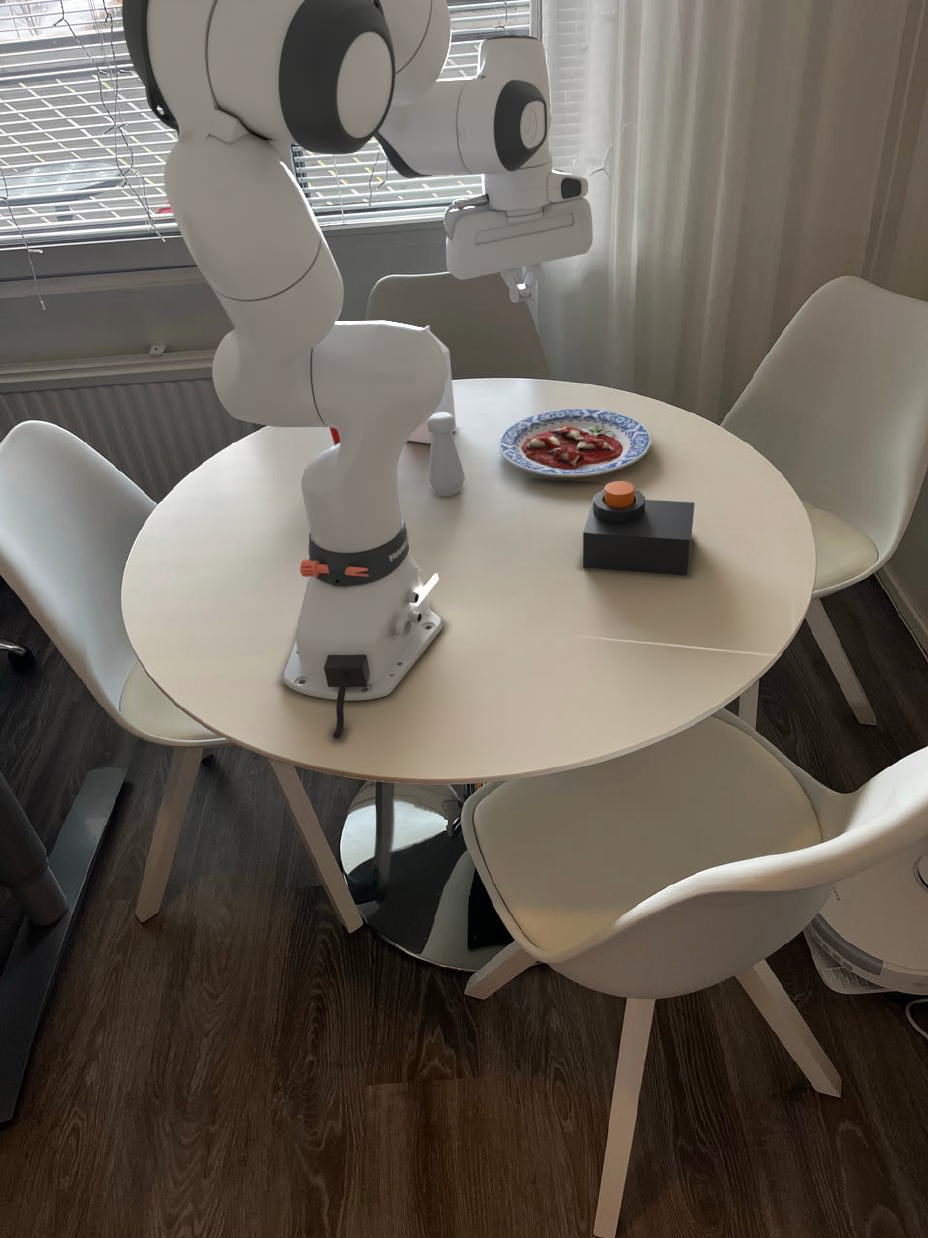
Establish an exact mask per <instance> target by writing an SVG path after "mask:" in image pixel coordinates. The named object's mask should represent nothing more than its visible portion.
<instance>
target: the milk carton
mask: <svg viewBox="0 0 928 1238" xmlns="http://www.w3.org/2000/svg"><path fill="white" fill-rule="evenodd" d="M423 328H424V329H426V330H428V331H429V332H430V333H431V334H432V336H433V337H434V338H435V339H436V340H437V342H438V344H439V345H440V347H441V349H442V351H443V354H444V357H445V360H446V365H447V373H448V378H447V386H446V391H445V394H444V397H443V399H442V401H441V403H440V405H439V407H438V408H437V410H436V411H435V412H434V413H439V412H445V413H449V414H451V415H452V416H453V417H454V421H455V428H454V430H453V431H452V433H453V434H454V432H455V431H456V430H457V421H456V420H457V419H456V411H455V409H456V408H455V400H454V388H453V379H452V367H451V358H450V357H451V354H450V349H449V348H448V347H447V346H446V345H445V344H444V343H443V341H441V340H440V339H439V338H438V337H437V336H436V335H435V334H433V332H431V326H430V325H428V324H427V326H425V327H423ZM431 438H432V433H431V432H429V430H428V426H427V420H426V421H425V422H423V423H422V424H421V425H420V426H419V427H418V428H416V430H415V431H414V432H413V433H412V434H411V435H410V437H409V438H408V440H407V441H406V442H416V443H420V444H421V443H423V444H430V445H431Z"/></svg>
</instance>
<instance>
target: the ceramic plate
mask: <svg viewBox="0 0 928 1238" xmlns="http://www.w3.org/2000/svg"><path fill="white" fill-rule="evenodd" d="M651 445H652V435H651V432H650V430H648V428H647V427H646V426H645V425H644V424H643V423H641V422H640V421H637V420H636V419H634V418H632V417H630V416H627V415H625V414H621V413H617V412H614V411H610V410H609V411H608V410H602V409H593V408H567V409H558V410H552V411H547V412H541V413H538V414H535V415H531V416H528V417H526V418H524V419H521V420H519V421H517V422H516V423H513V424H511V425H510V426H509V427H508V428H507V429H505V431H503V432H502V433H501V436H500V437H499V439H498V450H499V452H500V454H501V456H502V457H503V459H505V460H506V461H507V462H508V463H510V464H511V465H513V466H515V467H516V468H519V469H521V470H524V471H527V472H530V473H533V474H539V475H544V476H550V477H567V478H568V477H569V478H574V477H575V478H576V477H591V476H597V475H602V474H608V473H611V472H614V471H618V470H621V469H623V468H626V467H628V466H630V465H633V464H634V463H636V462H638V461H639V460H640V459H642V458H643V457H644V456H645V455H646V454H647V453H649V450H650V448H651V447H652V446H651Z"/></svg>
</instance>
